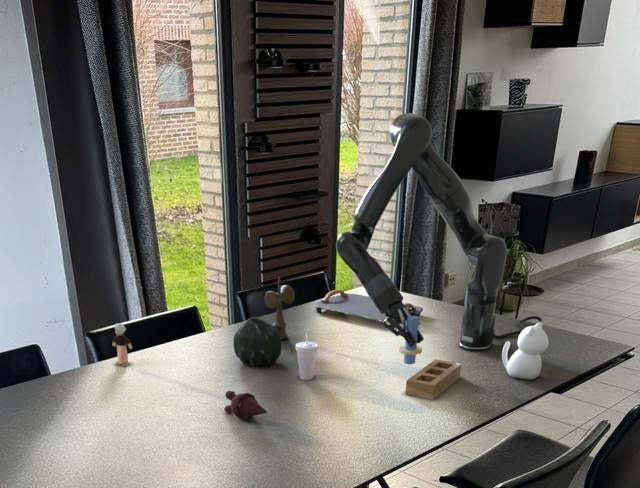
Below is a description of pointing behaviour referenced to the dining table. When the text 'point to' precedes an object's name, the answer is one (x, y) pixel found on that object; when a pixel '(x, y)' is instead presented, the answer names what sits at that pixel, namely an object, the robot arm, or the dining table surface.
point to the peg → (406, 349)
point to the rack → (433, 379)
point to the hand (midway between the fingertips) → (417, 342)
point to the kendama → (280, 305)
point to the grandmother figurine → (121, 345)
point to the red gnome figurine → (243, 405)
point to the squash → (257, 342)
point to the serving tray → (355, 305)
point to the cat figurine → (526, 353)
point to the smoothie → (306, 358)
